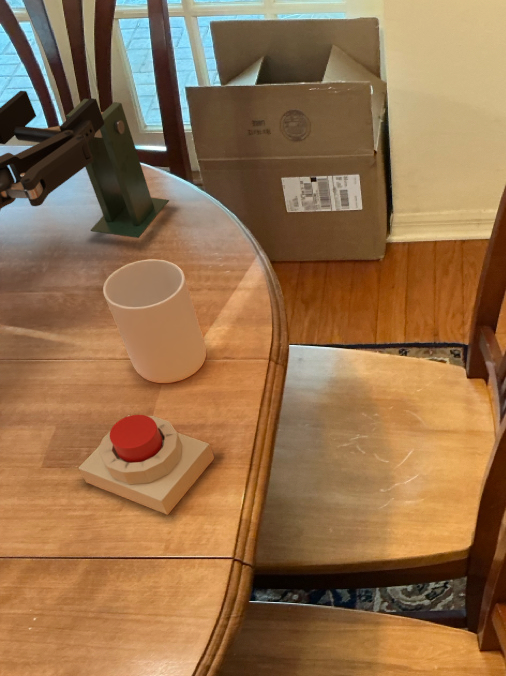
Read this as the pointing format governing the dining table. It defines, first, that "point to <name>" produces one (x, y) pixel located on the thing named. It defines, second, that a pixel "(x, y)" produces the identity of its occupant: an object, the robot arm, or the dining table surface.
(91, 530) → the dining table surface
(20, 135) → the bolt lever
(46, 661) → the dining table surface
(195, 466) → the confirm box
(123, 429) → the button
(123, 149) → the lock bracket
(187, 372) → the cup
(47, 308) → the dining table surface
